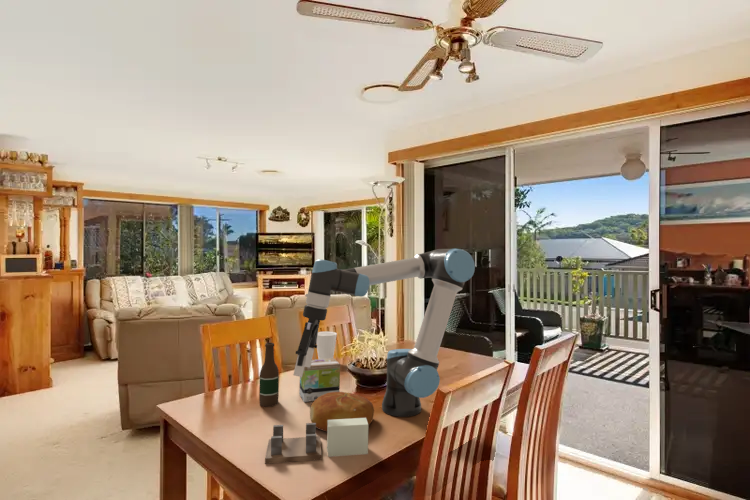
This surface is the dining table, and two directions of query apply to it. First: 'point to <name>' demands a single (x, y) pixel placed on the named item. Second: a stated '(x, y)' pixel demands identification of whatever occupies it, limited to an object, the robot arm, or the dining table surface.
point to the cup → (326, 344)
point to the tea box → (319, 379)
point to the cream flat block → (347, 437)
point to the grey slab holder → (293, 446)
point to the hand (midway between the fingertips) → (302, 371)
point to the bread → (340, 408)
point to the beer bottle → (269, 379)
